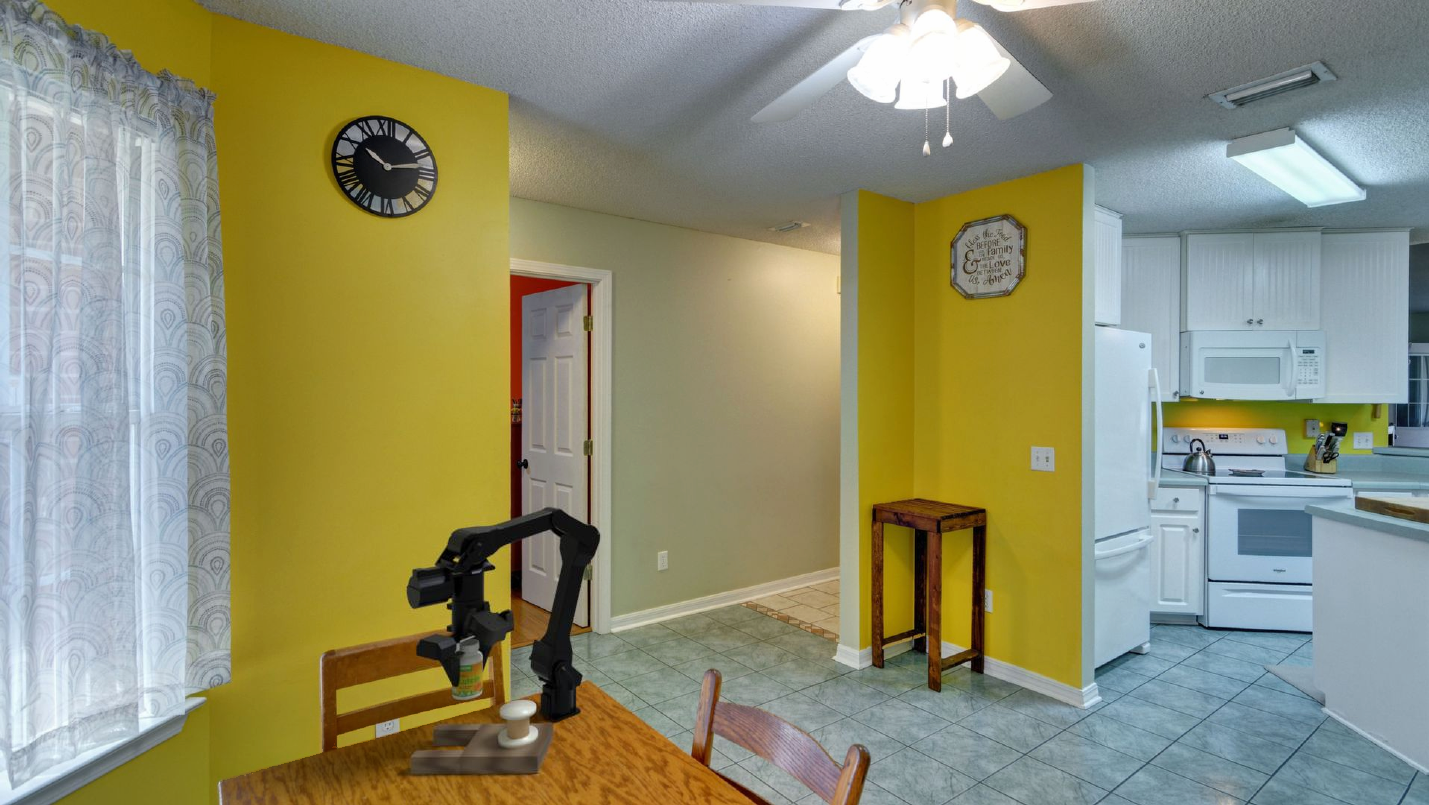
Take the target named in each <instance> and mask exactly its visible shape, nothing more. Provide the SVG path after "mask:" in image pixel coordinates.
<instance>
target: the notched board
mask: <svg viewBox="0 0 1429 805" xmlns="http://www.w3.org/2000/svg"><path fill="white" fill-rule="evenodd" d="M530 725H531V726H534V727H536V728H537V730H538V739H537V741H536V742H535V743H533V744H532V745H530V746H527V747H524V748H519V749H506V748H503V747H501V746H500V745H499V744H498V735H499V733H500V732H501V731H503V730H504V729H506V728H507V723H457V724H455V723H451V724H450V723H448V724H447V723H444V724H443V723H441V724H440V723H438V724H437V725H436V726H435V727H434V728H433V729H432V730H433V732H432V746H433V747H452V746H453V747H457V746H458V747H461V746H462V747H464V746H466V747H465V748H464V749H457V750H456V749H454V750H453V749H448V750H445V749H444V750H443V749H442V750H437V749H436V750H435V749H433V750H432V749H431V750H429V749H428V750H415V751H414V752H413V754H412V755H410V775H486V774H487V775H489V774H490V775H494V774H495V775H496V774H497V775H500V774H501V775H502V774H506V775H508V774H509V775H511V774H512V775H514V774H517V775H518V774H521V775H522V774H523V775H525V774H538V773H539V771H540V769H541V766H542V765H543V762H544V760H545V758H546V756H547V753H548V751H549V749H550V747H551V744H552V743H553V740H554V722H552V723H530Z"/></svg>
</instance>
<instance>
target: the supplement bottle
mask: <svg viewBox="0 0 1429 805" xmlns="http://www.w3.org/2000/svg"><path fill="white" fill-rule="evenodd" d="M478 649H479V641H478V640H476V639H469V640H467V641H464V642H462V643H460V651H462V652H465V654H464V655H463V656H462V658H461V659H460V672H459V684H458V687H453V686H452V685H451V694H452V695H451V696H452V697H453V698H454V699H456V700H459V701H460V700H462V701H464V700H465V701H466V700H467V701H469V700H472V699H475V698H478V697H479V696H481V695H482V693H483V677H484V676H483V673H484V671H483V655H482V653H481V652H480V651H478Z"/></svg>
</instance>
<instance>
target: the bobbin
mask: <svg viewBox="0 0 1429 805" xmlns="http://www.w3.org/2000/svg"><path fill="white" fill-rule="evenodd" d="M536 712H537V704H536V703H535V702H534V701H532V700H529V699H528V700H527V699H517V700H516V699H515V700H513V701H509V702H506V703H504V704H503V705H501V707H500V708H499V716H500V717H501V719H504V720H506V724H507V728H506V729H504V730H503V731H501V732H500V733H499V735H498V744H499V745H500V746H501V747H503V748H506V749H519V748H524V747H527V746H530V745H532V744H533V743H535V742H536V741H537V739H538V730H537V728H536V727H534V726H531V725H530V724H531V723H530V717H532V716H534V714H535V713H536Z"/></svg>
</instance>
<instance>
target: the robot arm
mask: <svg viewBox="0 0 1429 805" xmlns="http://www.w3.org/2000/svg"><path fill="white" fill-rule="evenodd" d="M547 531H551V533H552V534H554V535H556V536H557V537H559V554H560V558H561V566H560V567H561V568H560V572H559V576H558V580H557V585H556V590H555V594H554V598H553V602H552V607H551V611H550V616H549V620H548V624H547V628H546V632H545V633H544V635H543V636H542V637H541V639H540V640H539V639H534V640H533V642H532V647H531V648H532V651H531V654H530V655H529V657H528V660H529V661H530V668H531V670H532V672H533V674H534V675H536V676H537V678H538V681H540V682H543V684H542V693H540V708H539V709H538V710H537V713H538V714H540V715H541V716H544V717H546V718H547V720H550V721H551V722H552V723H556V722H559V721H562V720H564V719H567V718H569V717H572V716H574V715H577V714H579V713H581V710H582V709H580V708H579V707H577V687H580V686H581V685H582V681H583V676H584V675H583V673H581V672H580V671H579V670H577V669H576V668H575V667H574V666H573V657H574V651H573V645H572V642H571V641H572V640H571V633H572V630H573V624H574V621H575V620H574V619H575V615H576V611H577V607H578V602H579V597H580V592H581V588H582V583H583V579H584V574H585V570H586V567H587V566H588V565H589V563H590V562H591V561H592V560H593V559H594V557H595V556H596V553H597V551H598V548H599V545H600V542H601V533H600V531H599V529H598V527H596V526H594V525H592V524H589V523H584V522H582V521H581V520H578V519H577V518H576V517H573V516H571V515H570V514H568V513H567V512H565V511H564V510H563V509H562V508H558V507H553V506H546V507H544V508H542V509H541V510H537V511H534V512H531V513H528V514H525V515H522V516H518V517H514V518H512V519H509V520H505V521H503V522H499V523H497V524H492V525H476V526H469V527H467V526H466V527H461V528H458V529H455V530H453V531H452V532H451V534H450V535H449V538H448V540H447V545H446V546H445V548H444V549H443V551H442V552H441V554H440V555H439V557H438V558H437V560H436V561H435V563H434V566H429V567H417V568H413V569H412V570H411V575H412V576H410V577H409V580H408V583H407V585H406V598H407V601H408V605H409V606H410V607H411V609H413V610H416V609H417V610H418V609H421V608H426V607H431V606H434V605H439V604H445V603H446V610H449V611H451V624H449V625H446V632H447V633H451V635H443V634H439V633H434V634H431V635H428V636H426V637H423V638H421V639H419V640H418V642H416V644H415V645H416V646H415V650H416V651H415V655H416V656H417V657H419V658H420V657H421V658H424V659H429V660H433V661H438V662H439V663H440V664H441V667H442V669H443V670H444V672H445V674H446V676H447V678H448V680H449V682H450V683H451V684H450V685H451V687H452V686H453V687H458V684H459V672H460V659H461V658H462V656H463V655H464V654H465V652H462V651H460V643H462V642H464V641H467V640H469V639H476V640H478V641H479V649H478V651H480V652H481V653H482V655H483V672H484V670H485V667H486V665H487V662H488V659H489V655H490V653H491V651H492V648H493V647H494V645H495V644H497V643H499V642H504V641H505V640H506V637H507V634H508V633H510V632H513V631H514V630H515V618H514V611H512V610H511V609H509V608H508V609H505V610H502V611H500V612H498V611H496V612H493V611H491V604H490V601H489V600H485V572H490V571H495V570H496V566H495V565H494V564H492V563H491V562H490V561H489V559H488V558H489V557H491V556H493V555H494V554H496V553H497V552H498V551H499V550H500V549H501V548H504V547H505V546H507V545H510V544H513V543H515V542H519V541H521V540H524V539H527V538H530V537H532V536H537V535H538V534H542V533H545V532H547ZM455 559H458V561H456V560H455ZM449 600H451V602H448V601H449Z"/></svg>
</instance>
